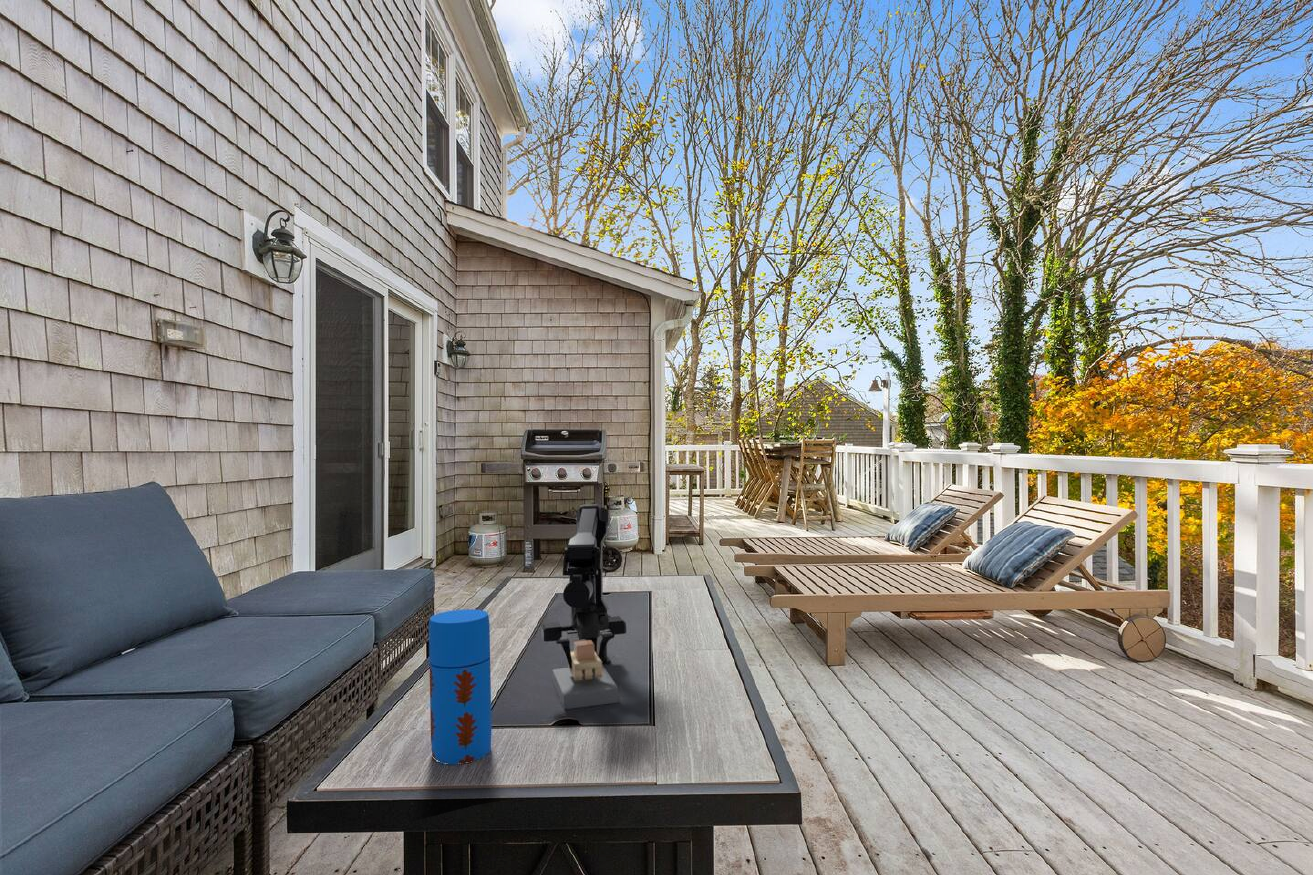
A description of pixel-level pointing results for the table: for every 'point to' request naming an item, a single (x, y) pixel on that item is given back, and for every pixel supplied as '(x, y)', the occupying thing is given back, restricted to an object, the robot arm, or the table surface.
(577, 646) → the block
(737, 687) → the table surface
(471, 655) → the thermos
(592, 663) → the tray
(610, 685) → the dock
